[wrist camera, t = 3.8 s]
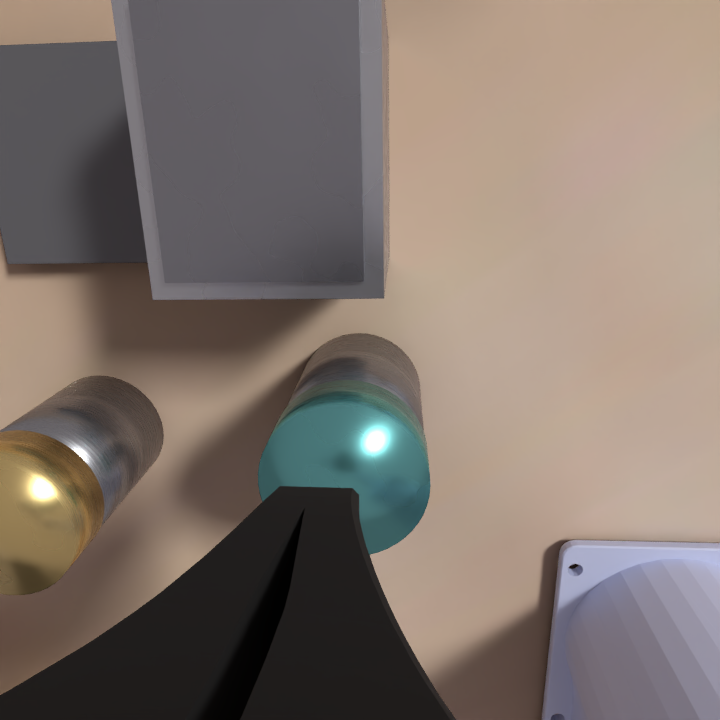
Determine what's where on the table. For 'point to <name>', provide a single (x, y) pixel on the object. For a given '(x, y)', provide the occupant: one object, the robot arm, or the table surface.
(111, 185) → the pad
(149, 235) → the control box
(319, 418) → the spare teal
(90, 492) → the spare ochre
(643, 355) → the table surface
